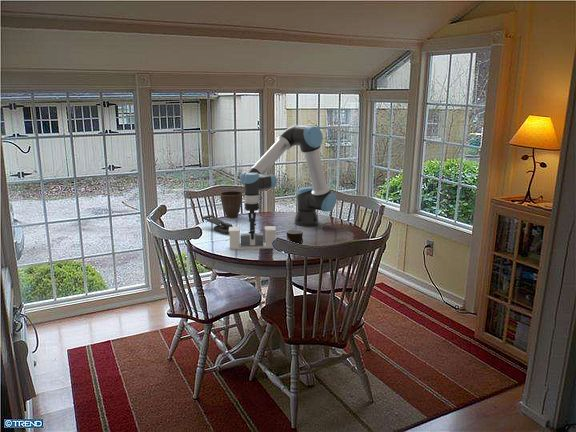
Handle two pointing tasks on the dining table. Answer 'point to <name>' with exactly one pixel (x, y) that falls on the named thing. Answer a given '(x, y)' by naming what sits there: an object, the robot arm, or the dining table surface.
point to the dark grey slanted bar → (218, 224)
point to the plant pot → (231, 203)
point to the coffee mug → (295, 236)
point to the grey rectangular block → (246, 239)
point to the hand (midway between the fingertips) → (252, 241)
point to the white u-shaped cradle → (237, 245)
